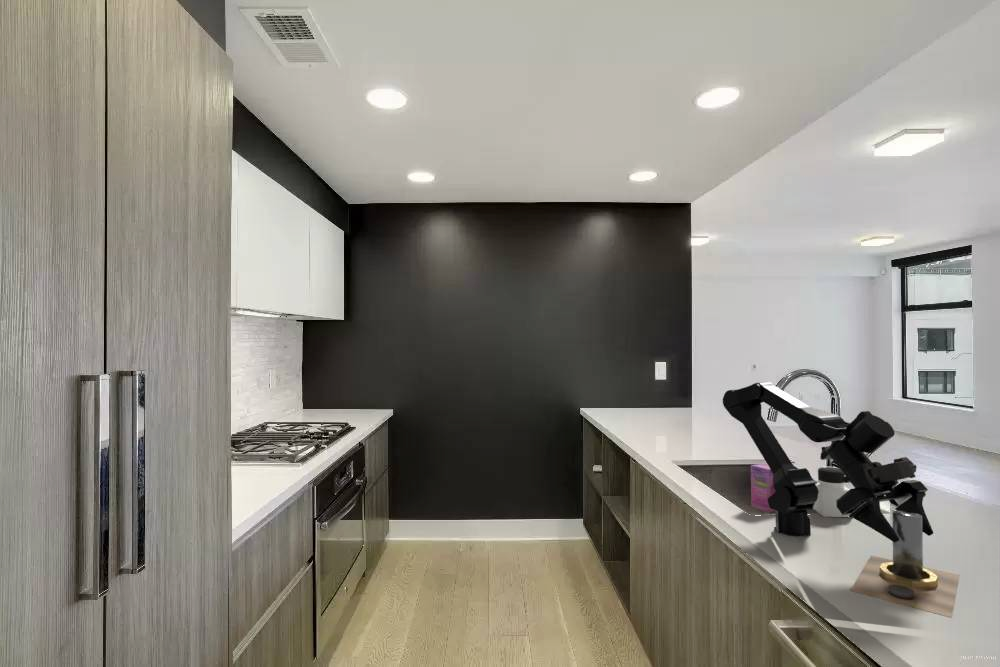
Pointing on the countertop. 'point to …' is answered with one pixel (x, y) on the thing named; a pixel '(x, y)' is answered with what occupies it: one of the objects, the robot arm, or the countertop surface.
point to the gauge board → (908, 589)
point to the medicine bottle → (830, 491)
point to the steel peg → (908, 545)
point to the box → (761, 486)
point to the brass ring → (914, 583)
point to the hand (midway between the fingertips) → (914, 537)
